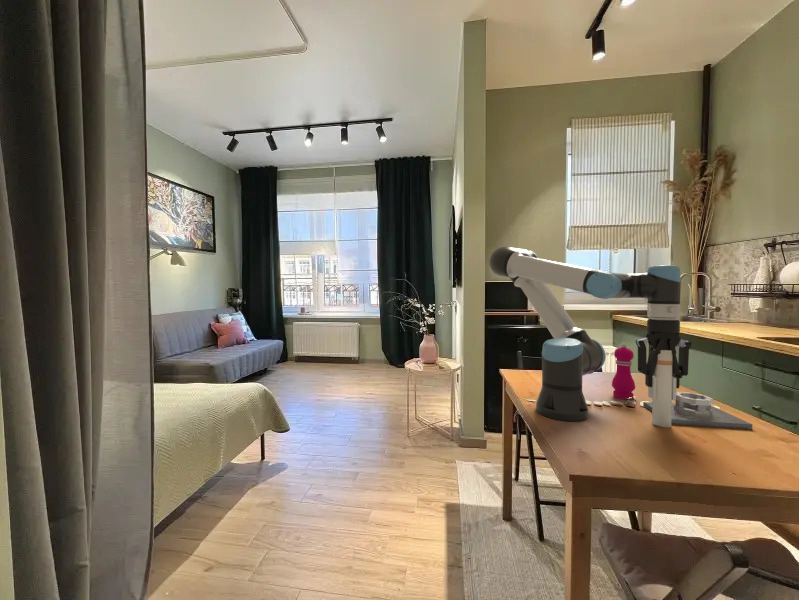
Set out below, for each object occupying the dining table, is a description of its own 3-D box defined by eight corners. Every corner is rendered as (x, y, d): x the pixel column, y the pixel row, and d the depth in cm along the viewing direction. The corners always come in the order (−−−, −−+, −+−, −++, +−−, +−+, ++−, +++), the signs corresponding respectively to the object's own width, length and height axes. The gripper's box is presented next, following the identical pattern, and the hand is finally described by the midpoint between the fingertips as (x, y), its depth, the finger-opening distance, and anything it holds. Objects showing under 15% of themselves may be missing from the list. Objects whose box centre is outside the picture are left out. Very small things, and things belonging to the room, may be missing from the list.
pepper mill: (639, 400, 121) (640, 344, 120) (619, 400, 121) (620, 344, 120) (626, 394, 128) (627, 341, 127) (607, 394, 128) (608, 341, 128)
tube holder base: (671, 424, 98) (671, 402, 98) (643, 406, 114) (643, 387, 114) (752, 429, 94) (752, 406, 94) (711, 410, 110) (711, 390, 110)
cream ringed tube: (657, 426, 96) (658, 350, 96) (648, 421, 101) (649, 348, 100) (674, 428, 95) (676, 351, 95) (665, 422, 100) (666, 348, 99)
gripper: (636, 319, 95) (634, 400, 96) (707, 320, 92) (705, 404, 93) (624, 317, 103) (622, 393, 103) (689, 318, 99) (687, 396, 100)
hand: (661, 398), depth 98 cm, fingers closed on cream ringed tube, 4 cm apart
